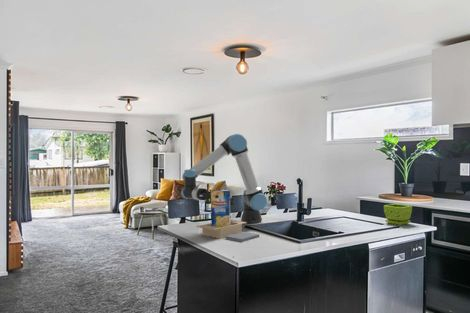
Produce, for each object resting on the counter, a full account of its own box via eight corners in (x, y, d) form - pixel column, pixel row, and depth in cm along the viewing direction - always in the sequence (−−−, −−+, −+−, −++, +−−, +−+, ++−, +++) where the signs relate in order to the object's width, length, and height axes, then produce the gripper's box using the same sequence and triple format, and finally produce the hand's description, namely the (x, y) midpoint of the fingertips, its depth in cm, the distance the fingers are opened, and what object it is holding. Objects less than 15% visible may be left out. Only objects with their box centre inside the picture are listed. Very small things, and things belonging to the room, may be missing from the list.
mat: (243, 234, 215) (243, 231, 215) (259, 237, 207) (259, 234, 207) (225, 238, 202) (225, 236, 202) (241, 242, 195) (241, 239, 195)
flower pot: (394, 221, 257) (394, 203, 257) (413, 224, 245) (413, 205, 245) (382, 223, 250) (382, 205, 250) (401, 226, 238) (400, 207, 238)
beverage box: (229, 227, 210) (229, 190, 210) (211, 227, 211) (210, 190, 211) (230, 225, 217) (230, 189, 217) (213, 225, 218) (212, 189, 218)
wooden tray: (229, 228, 231) (229, 219, 231) (246, 231, 221) (246, 222, 221) (196, 236, 209) (196, 226, 209) (214, 240, 199) (214, 229, 199)
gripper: (211, 198, 234) (237, 200, 219) (189, 201, 219) (216, 204, 204) (211, 187, 234) (237, 188, 219) (188, 189, 219) (215, 191, 204)
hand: (227, 196), depth 212 cm, fingers closed on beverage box, 7 cm apart
